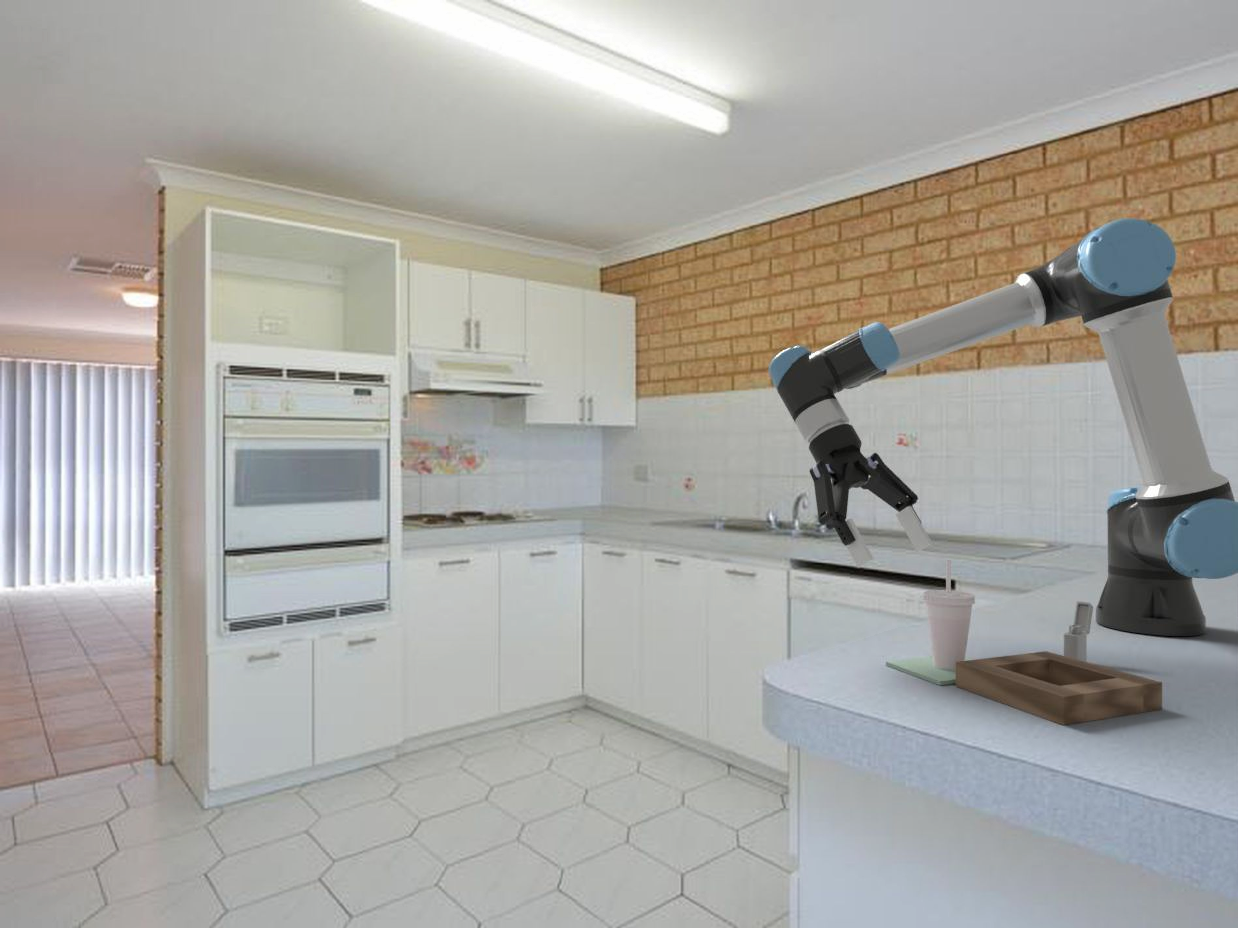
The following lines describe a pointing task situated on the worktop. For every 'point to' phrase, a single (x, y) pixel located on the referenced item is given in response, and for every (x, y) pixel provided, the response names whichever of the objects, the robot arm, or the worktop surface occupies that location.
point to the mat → (925, 670)
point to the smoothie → (948, 623)
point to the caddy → (1059, 687)
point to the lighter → (1078, 632)
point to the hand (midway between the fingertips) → (896, 555)
